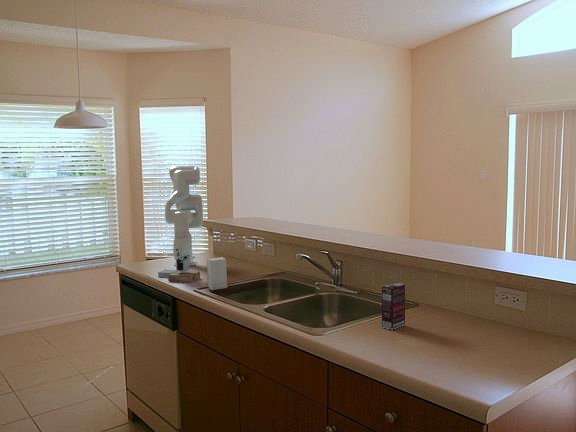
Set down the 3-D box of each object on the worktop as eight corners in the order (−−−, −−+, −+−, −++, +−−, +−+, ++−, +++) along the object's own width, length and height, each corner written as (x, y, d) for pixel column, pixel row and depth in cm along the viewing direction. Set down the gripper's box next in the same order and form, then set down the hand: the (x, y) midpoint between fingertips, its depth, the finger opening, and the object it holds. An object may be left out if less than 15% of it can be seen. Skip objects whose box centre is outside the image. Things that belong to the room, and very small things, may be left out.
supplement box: (394, 323, 200) (395, 281, 198) (405, 325, 196) (406, 284, 194) (380, 328, 194) (381, 285, 192) (391, 331, 190) (392, 288, 189)
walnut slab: (180, 277, 285) (179, 270, 284) (199, 278, 281) (199, 271, 280) (168, 282, 273) (168, 274, 273) (188, 283, 269) (188, 276, 269)
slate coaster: (165, 274, 292) (165, 269, 292) (178, 275, 290) (178, 270, 290) (158, 277, 284) (158, 272, 284) (171, 278, 282) (171, 273, 282)
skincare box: (223, 286, 262) (223, 256, 261) (227, 288, 257) (227, 258, 255) (207, 287, 259) (206, 258, 257) (211, 290, 253) (210, 260, 252)
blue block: (181, 269, 280) (180, 258, 280) (189, 269, 279) (189, 258, 278) (176, 271, 276) (175, 259, 275) (184, 271, 274) (184, 260, 273)
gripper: (183, 232, 284) (184, 265, 286) (166, 236, 268) (168, 271, 270) (196, 232, 282) (197, 266, 284) (179, 237, 266) (180, 272, 268)
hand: (182, 268), depth 277 cm, fingers closed on blue block, 5 cm apart
